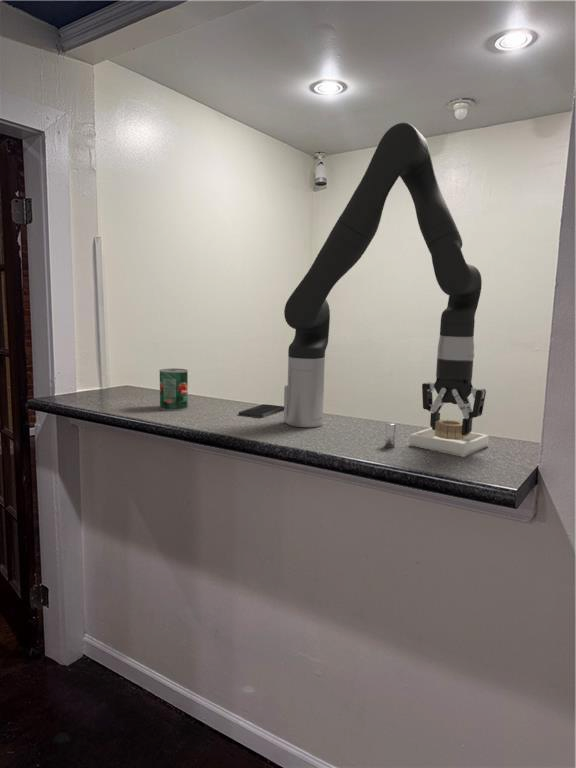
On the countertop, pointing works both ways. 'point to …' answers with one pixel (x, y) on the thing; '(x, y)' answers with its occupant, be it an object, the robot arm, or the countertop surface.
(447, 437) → the oak ring
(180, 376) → the canned tomato
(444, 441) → the white tray
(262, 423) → the countertop surface
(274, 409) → the phone
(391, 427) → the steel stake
